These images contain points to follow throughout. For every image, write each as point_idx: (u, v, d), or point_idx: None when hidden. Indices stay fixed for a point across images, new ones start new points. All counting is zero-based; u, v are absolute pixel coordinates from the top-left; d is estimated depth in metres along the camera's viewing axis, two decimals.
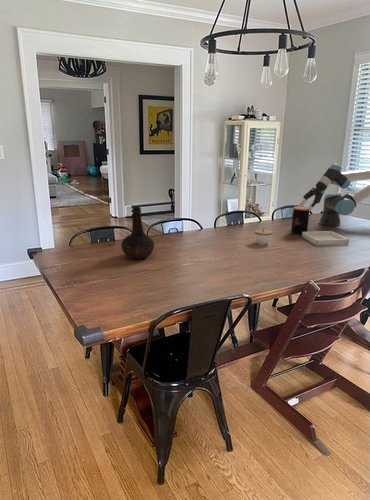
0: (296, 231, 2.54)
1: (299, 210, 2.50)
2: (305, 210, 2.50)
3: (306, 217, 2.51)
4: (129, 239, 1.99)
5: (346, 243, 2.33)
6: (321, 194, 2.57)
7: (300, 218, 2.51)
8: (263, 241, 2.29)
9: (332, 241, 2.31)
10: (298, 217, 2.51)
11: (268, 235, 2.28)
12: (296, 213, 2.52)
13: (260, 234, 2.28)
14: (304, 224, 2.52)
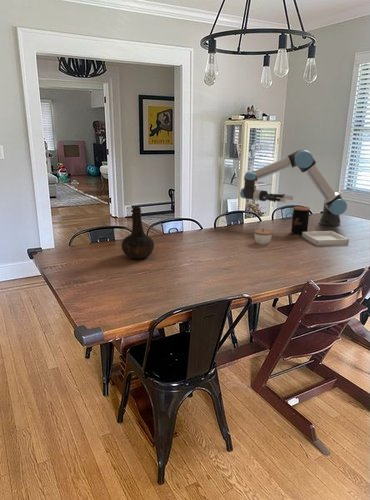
0: (296, 231, 2.54)
1: (299, 210, 2.50)
2: (305, 210, 2.50)
3: (306, 217, 2.51)
4: (129, 239, 1.99)
5: (346, 243, 2.33)
6: (266, 197, 2.59)
7: (300, 218, 2.51)
8: (263, 241, 2.29)
9: (332, 241, 2.31)
10: (298, 217, 2.51)
11: (268, 235, 2.28)
12: (296, 213, 2.52)
13: (260, 234, 2.28)
14: (304, 224, 2.52)
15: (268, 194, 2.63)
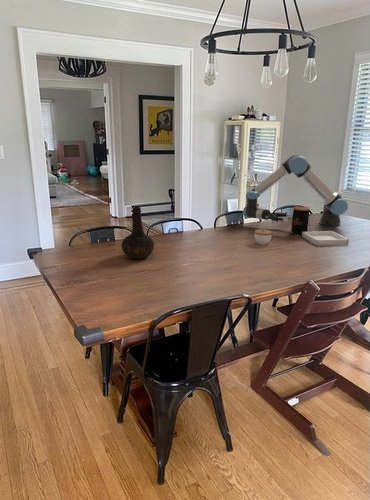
0: (296, 231, 2.54)
1: (299, 210, 2.50)
2: (305, 210, 2.50)
3: (306, 217, 2.51)
4: (129, 239, 1.99)
5: (346, 243, 2.33)
6: (269, 217, 2.61)
7: (300, 218, 2.51)
8: (263, 241, 2.29)
9: (332, 241, 2.31)
10: (298, 217, 2.51)
11: (268, 235, 2.28)
12: (296, 213, 2.52)
13: (260, 234, 2.28)
14: (304, 224, 2.52)
15: (270, 213, 2.65)
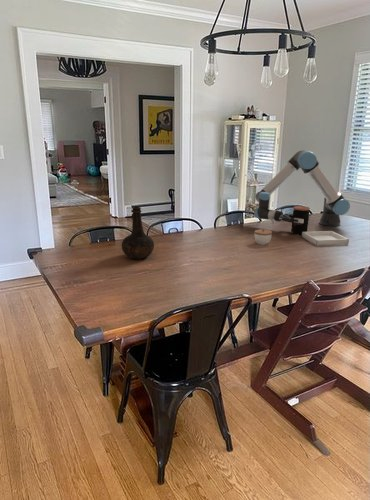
0: (296, 231, 2.54)
1: (299, 210, 2.50)
2: (305, 210, 2.49)
3: (306, 217, 2.51)
4: (129, 239, 1.99)
5: (346, 243, 2.33)
6: (282, 218, 2.56)
7: (300, 218, 2.51)
8: (263, 241, 2.29)
9: (332, 241, 2.31)
10: (298, 217, 2.51)
11: (268, 235, 2.28)
12: (296, 213, 2.52)
13: (260, 234, 2.28)
14: (303, 224, 2.52)
15: (283, 214, 2.60)
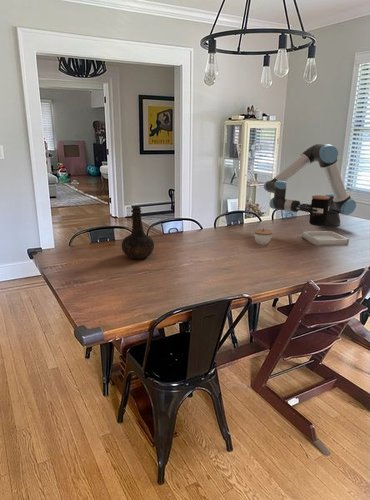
0: (315, 222, 2.38)
1: (318, 199, 2.33)
2: (325, 199, 2.33)
3: (326, 207, 2.34)
4: (129, 239, 1.99)
5: (346, 243, 2.33)
6: (300, 208, 2.40)
7: (320, 208, 2.34)
8: (263, 241, 2.29)
9: (332, 241, 2.31)
10: (317, 206, 2.34)
11: (268, 235, 2.28)
12: (315, 202, 2.35)
13: (260, 234, 2.28)
14: (323, 215, 2.35)
15: (301, 204, 2.43)
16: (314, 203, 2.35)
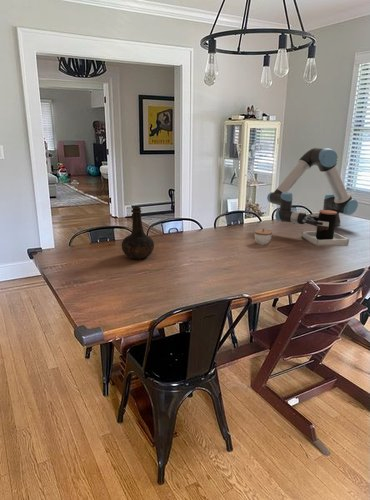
0: (322, 236, 2.36)
1: (326, 214, 2.32)
2: (332, 214, 2.32)
3: (333, 222, 2.33)
4: (129, 239, 1.99)
5: (346, 243, 2.33)
6: (306, 221, 2.38)
7: None
8: (263, 241, 2.29)
9: (332, 241, 2.31)
10: (325, 221, 2.33)
11: (268, 235, 2.28)
12: (322, 217, 2.34)
13: (260, 234, 2.28)
14: (330, 229, 2.34)
15: (308, 217, 2.42)
16: (321, 218, 2.34)
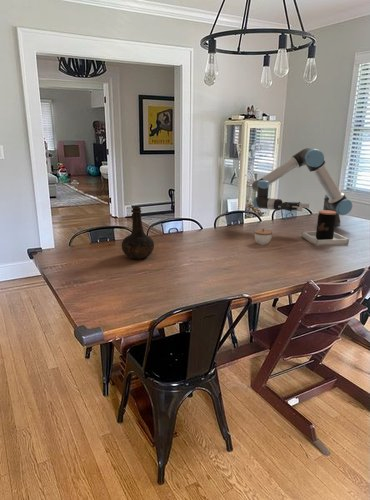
0: (322, 237, 2.36)
1: (325, 214, 2.32)
2: (332, 214, 2.32)
3: (333, 222, 2.33)
4: (129, 239, 1.99)
5: (346, 243, 2.33)
6: (281, 207, 2.48)
7: (327, 223, 2.33)
8: (263, 241, 2.29)
9: (332, 241, 2.31)
10: (324, 222, 2.33)
11: (268, 235, 2.28)
12: (322, 218, 2.34)
13: (260, 234, 2.28)
14: (330, 230, 2.34)
15: (283, 203, 2.52)
16: (321, 218, 2.34)
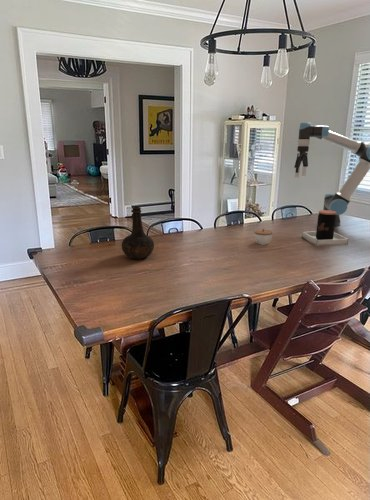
0: (322, 237, 2.36)
1: (325, 214, 2.32)
2: (332, 214, 2.32)
3: (333, 222, 2.33)
4: (129, 239, 1.99)
5: (346, 243, 2.33)
6: (298, 157, 2.57)
7: (327, 223, 2.33)
8: (263, 241, 2.29)
9: (332, 241, 2.31)
10: (324, 222, 2.33)
11: (268, 235, 2.28)
12: (322, 218, 2.34)
13: (260, 234, 2.28)
14: (330, 230, 2.34)
15: (303, 156, 2.60)
16: (321, 218, 2.34)
